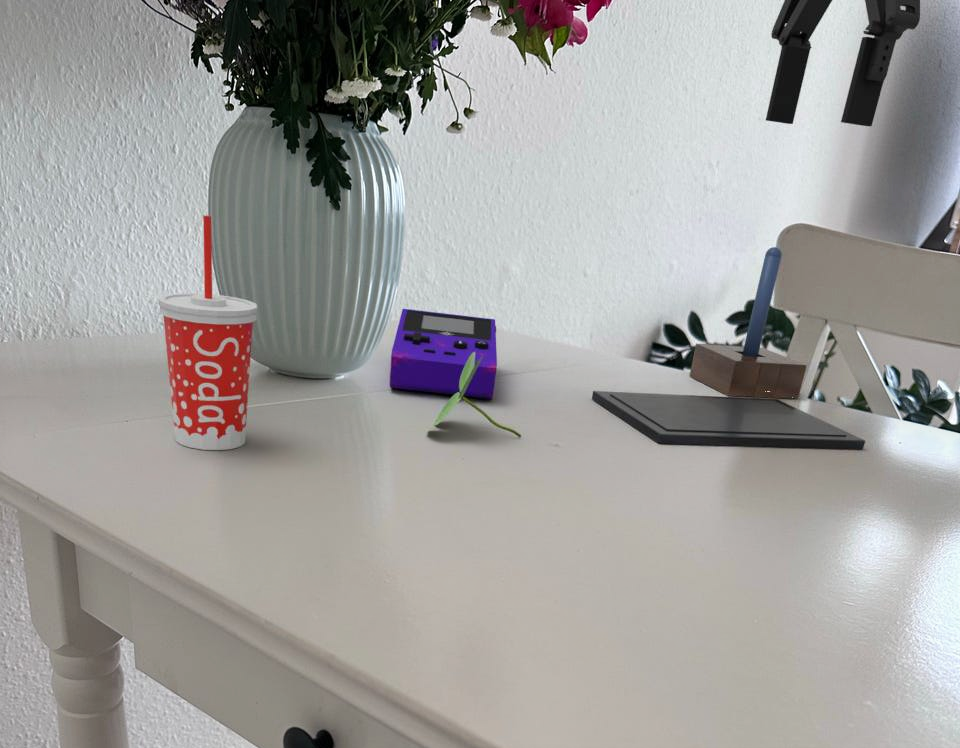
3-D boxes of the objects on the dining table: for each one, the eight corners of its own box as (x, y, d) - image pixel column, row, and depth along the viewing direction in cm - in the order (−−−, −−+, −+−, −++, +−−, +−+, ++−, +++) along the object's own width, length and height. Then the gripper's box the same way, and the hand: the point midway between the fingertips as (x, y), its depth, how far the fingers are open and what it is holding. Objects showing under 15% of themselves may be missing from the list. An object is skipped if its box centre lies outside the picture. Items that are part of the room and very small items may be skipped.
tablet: (775, 407, 96) (777, 398, 95) (863, 449, 84) (866, 439, 83) (591, 399, 89) (592, 389, 89) (658, 443, 78) (660, 433, 77)
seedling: (474, 495, 76) (407, 445, 74) (516, 421, 79) (453, 372, 77) (518, 465, 70) (446, 409, 68) (561, 385, 73) (493, 330, 71)
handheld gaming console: (389, 350, 81) (402, 303, 93) (386, 410, 84) (398, 356, 96) (499, 363, 81) (497, 314, 94) (492, 422, 84) (490, 367, 97)
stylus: (744, 386, 103) (777, 246, 97) (752, 389, 102) (786, 248, 96) (732, 385, 103) (764, 245, 97) (739, 389, 102) (772, 247, 95)
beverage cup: (152, 448, 62) (142, 213, 56) (175, 423, 68) (169, 206, 61) (247, 457, 63) (248, 225, 56) (263, 432, 68) (266, 218, 62)
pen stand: (755, 379, 107) (763, 347, 106) (798, 399, 100) (807, 365, 99) (689, 376, 105) (695, 343, 103) (728, 395, 98) (736, 361, 96)
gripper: (771, -136, 92) (720, 116, 101) (941, -208, 70) (856, 119, 80) (839, -120, 94) (783, 126, 103) (1025, -186, 72) (932, 131, 82)
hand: (815, 123), depth 92 cm, fingers open, 13 cm apart
